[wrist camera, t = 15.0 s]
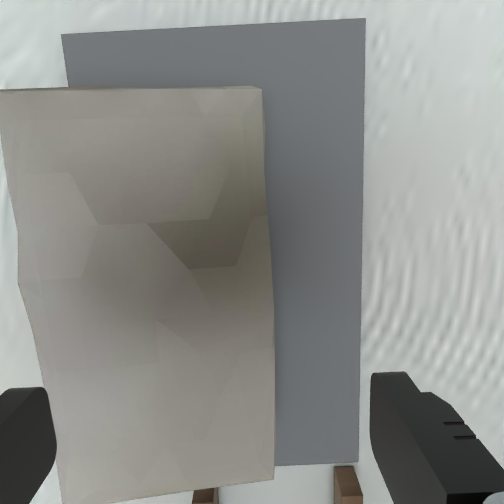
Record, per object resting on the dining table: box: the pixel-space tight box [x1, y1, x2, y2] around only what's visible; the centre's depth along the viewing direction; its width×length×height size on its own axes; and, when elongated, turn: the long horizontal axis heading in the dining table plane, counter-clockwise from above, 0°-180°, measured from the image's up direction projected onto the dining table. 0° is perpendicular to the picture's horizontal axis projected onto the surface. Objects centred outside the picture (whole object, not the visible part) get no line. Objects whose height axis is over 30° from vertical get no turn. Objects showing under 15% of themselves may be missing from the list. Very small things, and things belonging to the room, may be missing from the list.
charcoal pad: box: [61, 18, 366, 466], centre depth 21 cm, size 14×24×1 cm, turn 3°
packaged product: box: [0, 86, 276, 504], centre depth 18 cm, size 18×5×10 cm
